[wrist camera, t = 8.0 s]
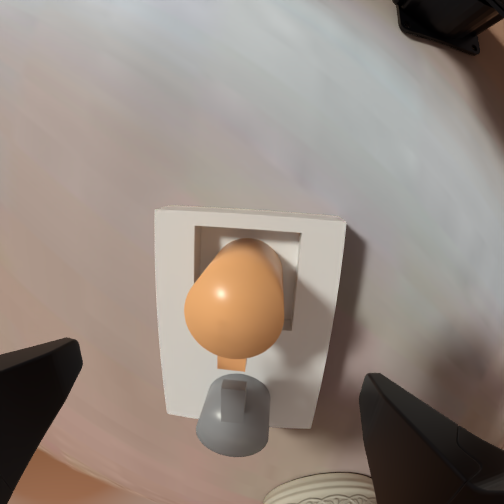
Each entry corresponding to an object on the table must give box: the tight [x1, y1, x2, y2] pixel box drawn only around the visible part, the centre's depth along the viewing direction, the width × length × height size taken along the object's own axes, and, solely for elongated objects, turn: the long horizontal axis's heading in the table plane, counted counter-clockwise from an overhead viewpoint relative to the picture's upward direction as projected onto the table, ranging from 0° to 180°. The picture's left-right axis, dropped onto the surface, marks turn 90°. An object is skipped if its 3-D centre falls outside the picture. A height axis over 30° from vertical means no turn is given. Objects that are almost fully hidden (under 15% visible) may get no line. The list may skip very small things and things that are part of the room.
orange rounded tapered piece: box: [184, 238, 284, 372], centre depth 15 cm, size 4×5×6 cm
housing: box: [155, 205, 347, 457], centre depth 17 cm, size 10×14×6 cm
